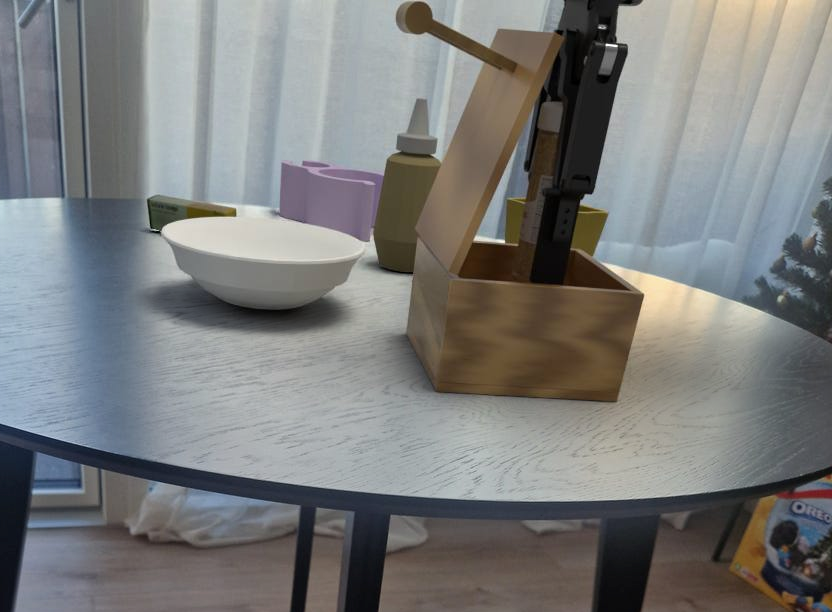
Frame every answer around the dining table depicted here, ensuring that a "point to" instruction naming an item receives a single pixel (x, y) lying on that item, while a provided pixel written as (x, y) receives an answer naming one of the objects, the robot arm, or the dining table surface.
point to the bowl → (262, 259)
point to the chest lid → (479, 127)
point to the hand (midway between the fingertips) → (537, 274)
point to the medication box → (182, 210)
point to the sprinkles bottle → (537, 189)
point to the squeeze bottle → (405, 192)
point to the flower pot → (584, 233)
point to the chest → (521, 326)
